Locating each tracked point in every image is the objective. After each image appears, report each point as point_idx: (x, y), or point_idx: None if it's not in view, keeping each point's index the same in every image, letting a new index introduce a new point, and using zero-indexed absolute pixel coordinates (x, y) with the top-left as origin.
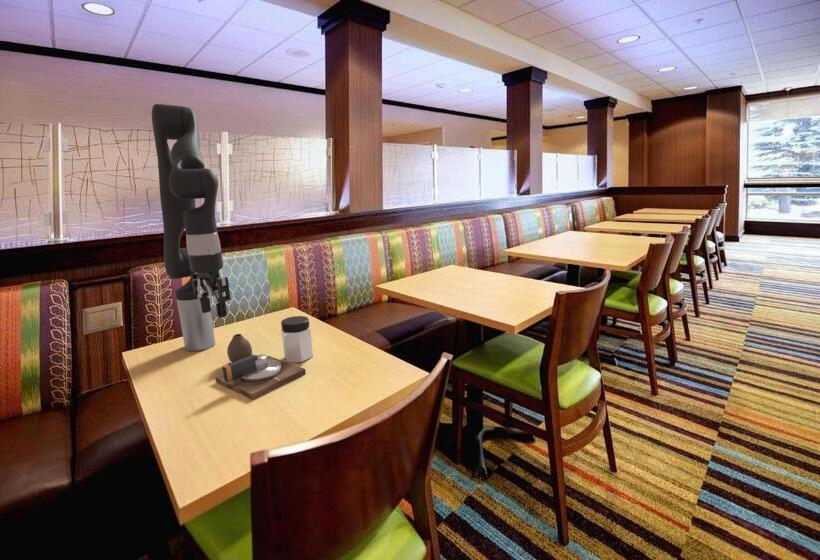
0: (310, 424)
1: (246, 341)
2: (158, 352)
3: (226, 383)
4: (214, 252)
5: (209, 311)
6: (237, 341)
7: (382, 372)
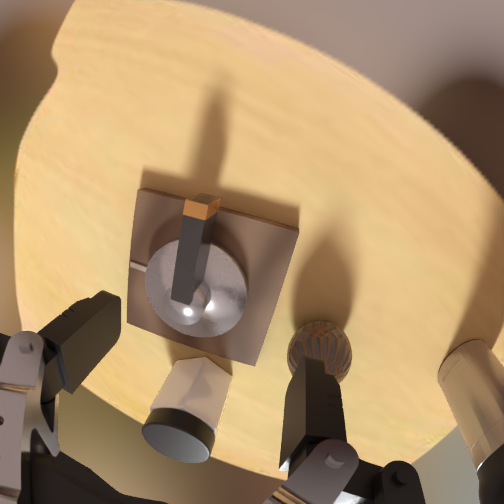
0: (31, 169)
1: None
2: None
3: (242, 215)
4: None
5: (290, 383)
6: None
7: None
